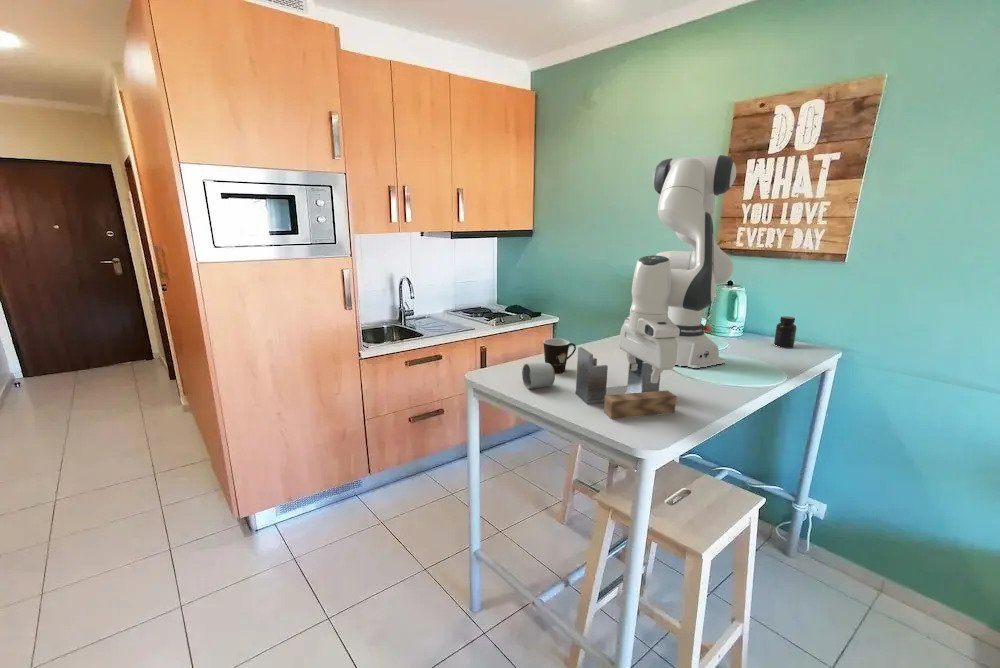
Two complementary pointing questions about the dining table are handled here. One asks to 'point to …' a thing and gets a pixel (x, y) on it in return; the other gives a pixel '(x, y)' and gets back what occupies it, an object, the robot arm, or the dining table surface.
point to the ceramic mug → (538, 375)
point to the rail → (639, 404)
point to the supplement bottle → (785, 332)
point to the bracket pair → (595, 379)
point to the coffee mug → (557, 353)
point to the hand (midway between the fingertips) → (642, 375)
